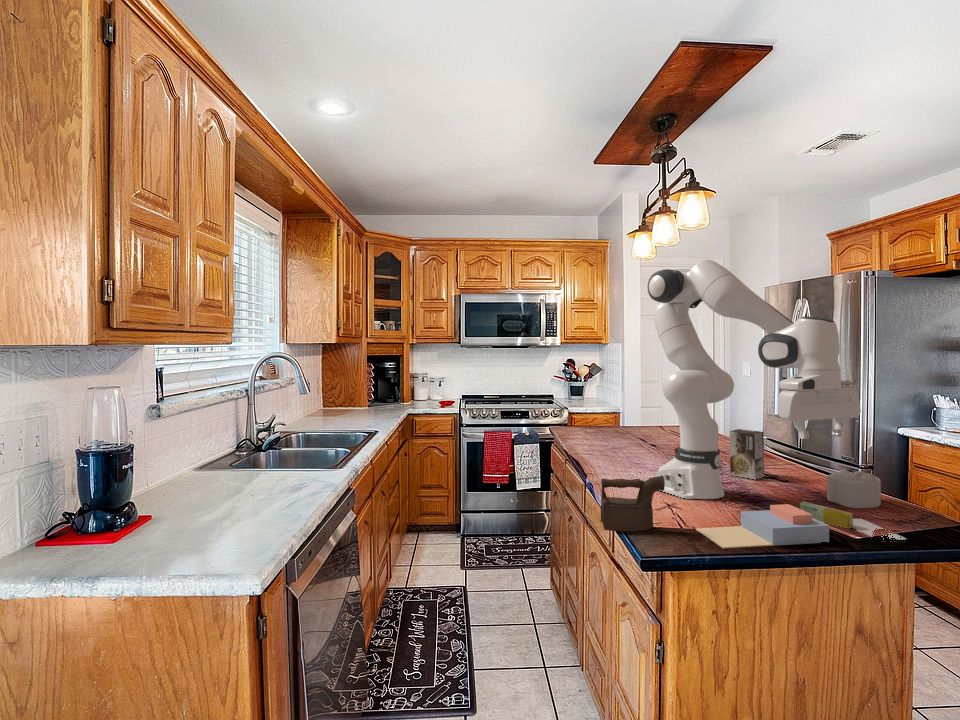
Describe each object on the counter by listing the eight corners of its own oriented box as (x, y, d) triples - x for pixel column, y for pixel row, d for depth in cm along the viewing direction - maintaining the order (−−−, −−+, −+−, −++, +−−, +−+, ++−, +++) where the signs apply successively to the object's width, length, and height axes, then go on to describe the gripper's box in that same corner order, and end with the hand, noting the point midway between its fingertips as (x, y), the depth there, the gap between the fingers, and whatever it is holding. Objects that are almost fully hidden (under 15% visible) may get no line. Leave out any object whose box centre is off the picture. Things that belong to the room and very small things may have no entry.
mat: (740, 527, 127) (740, 526, 127) (772, 545, 115) (772, 544, 115) (695, 529, 126) (695, 528, 126) (723, 548, 114) (723, 547, 114)
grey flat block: (792, 524, 128) (792, 509, 128) (829, 542, 117) (829, 525, 116) (740, 527, 127) (740, 511, 127) (772, 545, 115) (772, 528, 115)
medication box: (797, 517, 135) (797, 502, 134) (802, 515, 136) (802, 500, 136) (849, 530, 124) (848, 514, 124) (854, 528, 126) (853, 512, 125)
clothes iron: (666, 534, 124) (666, 480, 123) (600, 530, 127) (600, 478, 126) (661, 522, 132) (661, 472, 131) (599, 519, 135) (599, 470, 134)
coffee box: (764, 477, 174) (764, 431, 173) (755, 480, 170) (755, 433, 170) (738, 472, 181) (738, 428, 181) (729, 475, 178) (728, 430, 177)
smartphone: (861, 518, 132) (909, 539, 117) (861, 520, 132) (909, 542, 117) (833, 518, 132) (877, 539, 117) (833, 521, 132) (877, 542, 117)
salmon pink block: (788, 512, 126) (788, 504, 126) (812, 522, 118) (812, 514, 118) (770, 512, 126) (770, 505, 126) (792, 524, 118) (792, 515, 118)
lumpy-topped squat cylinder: (821, 498, 150) (821, 469, 150) (859, 495, 152) (859, 467, 152) (852, 509, 140) (852, 478, 140) (892, 506, 142) (892, 475, 142)
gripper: (844, 379, 128) (846, 433, 128) (773, 382, 125) (775, 437, 125) (866, 380, 122) (868, 436, 122) (792, 383, 118) (794, 441, 118)
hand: (820, 437), depth 123 cm, fingers open, 8 cm apart
